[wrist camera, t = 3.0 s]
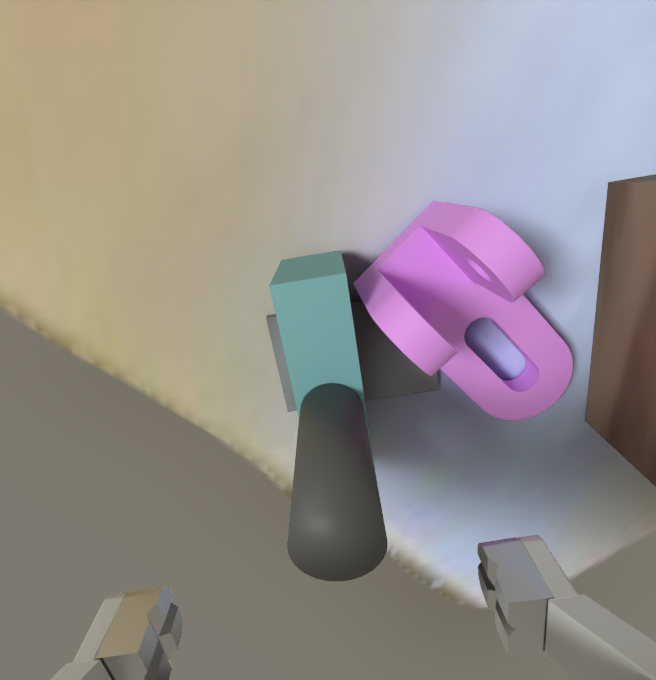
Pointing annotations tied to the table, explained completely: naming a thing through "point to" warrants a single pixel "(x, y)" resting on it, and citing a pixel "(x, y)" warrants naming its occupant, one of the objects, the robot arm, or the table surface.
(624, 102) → the table surface
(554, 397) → the bracket
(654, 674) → the robot arm
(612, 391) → the base
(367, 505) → the clamp jaw
